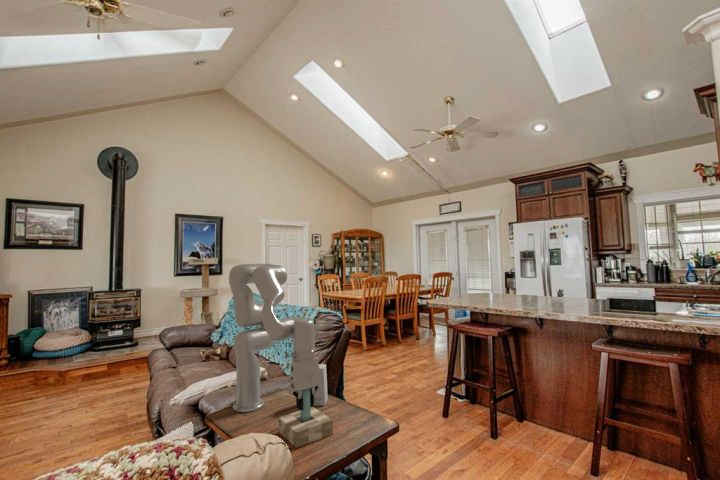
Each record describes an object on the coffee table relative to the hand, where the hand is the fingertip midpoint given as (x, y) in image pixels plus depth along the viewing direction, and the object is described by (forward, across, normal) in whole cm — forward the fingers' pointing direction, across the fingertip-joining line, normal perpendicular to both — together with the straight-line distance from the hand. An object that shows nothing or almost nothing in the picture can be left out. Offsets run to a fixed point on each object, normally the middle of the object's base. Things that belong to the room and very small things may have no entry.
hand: (305, 406), depth 123 cm
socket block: (+9, 0, 0) cm, 9 cm away
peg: (+5, 0, 0) cm, 5 cm away
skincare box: (+9, +16, +20) cm, 27 cm away
